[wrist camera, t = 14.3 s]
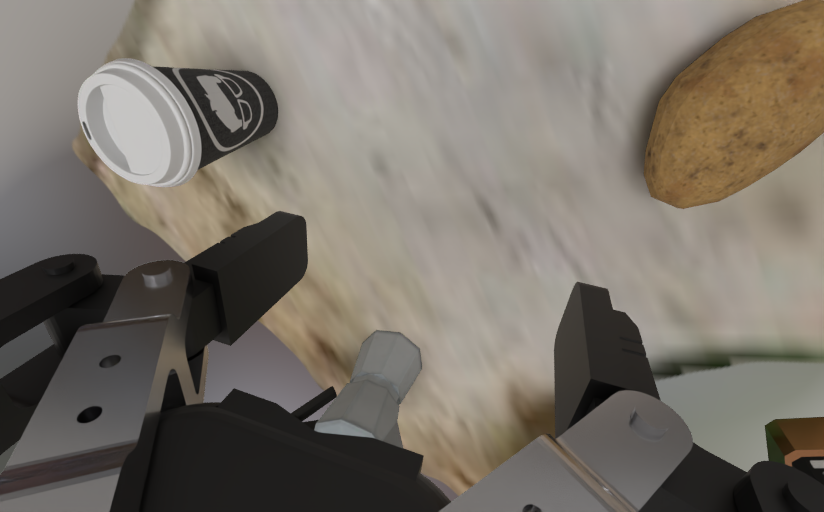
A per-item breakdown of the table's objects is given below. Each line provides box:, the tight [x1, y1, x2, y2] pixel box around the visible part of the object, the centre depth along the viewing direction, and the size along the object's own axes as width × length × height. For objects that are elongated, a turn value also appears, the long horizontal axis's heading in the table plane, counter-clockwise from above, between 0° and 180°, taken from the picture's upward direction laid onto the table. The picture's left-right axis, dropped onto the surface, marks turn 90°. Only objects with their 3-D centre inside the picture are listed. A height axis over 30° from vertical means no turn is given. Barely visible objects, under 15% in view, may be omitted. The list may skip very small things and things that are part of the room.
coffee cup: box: [78, 58, 278, 187], centre depth 35 cm, size 10×10×15 cm
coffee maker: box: [291, 330, 422, 448], centre depth 46 cm, size 15×9×18 cm, turn 96°
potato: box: [644, 0, 824, 209], centre depth 27 cm, size 10×14×8 cm
